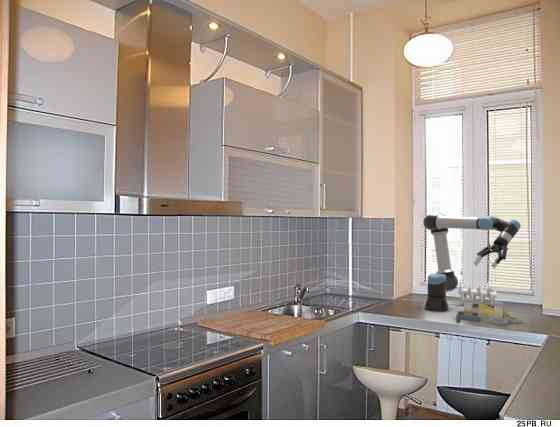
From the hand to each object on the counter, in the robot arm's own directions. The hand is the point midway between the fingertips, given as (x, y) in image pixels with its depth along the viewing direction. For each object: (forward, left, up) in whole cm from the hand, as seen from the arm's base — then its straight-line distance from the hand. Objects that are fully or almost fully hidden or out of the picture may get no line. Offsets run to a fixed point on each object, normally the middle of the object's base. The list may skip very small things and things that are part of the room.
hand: (483, 265), depth 275 cm
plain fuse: (+13, +8, -31) cm, 35 cm away
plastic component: (-14, +6, -33) cm, 37 cm away
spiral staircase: (-48, -3, -33) cm, 58 cm away
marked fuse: (+6, -8, -32) cm, 33 cm away
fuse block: (+9, +12, -33) cm, 36 cm away
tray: (+6, -8, -33) cm, 34 cm away
